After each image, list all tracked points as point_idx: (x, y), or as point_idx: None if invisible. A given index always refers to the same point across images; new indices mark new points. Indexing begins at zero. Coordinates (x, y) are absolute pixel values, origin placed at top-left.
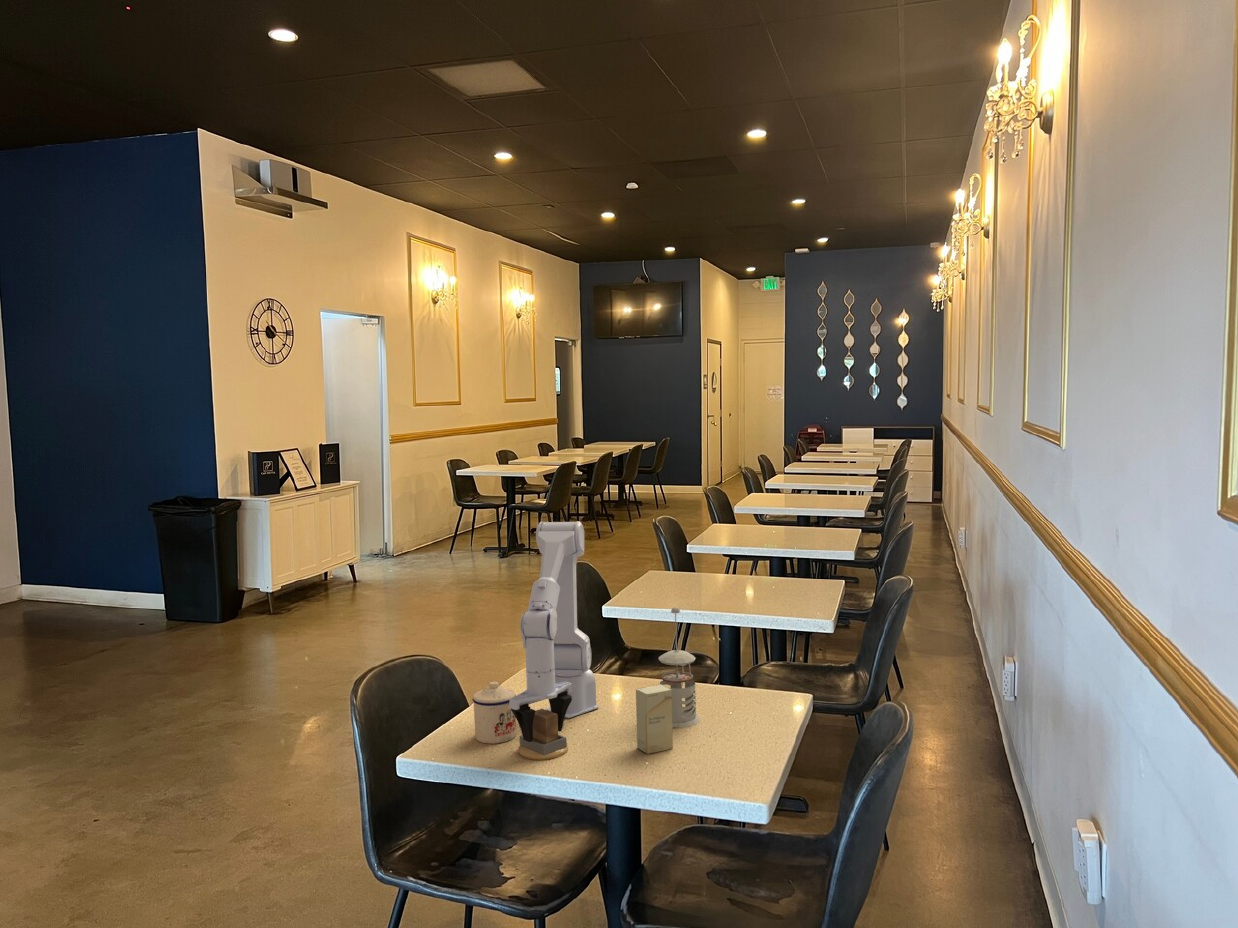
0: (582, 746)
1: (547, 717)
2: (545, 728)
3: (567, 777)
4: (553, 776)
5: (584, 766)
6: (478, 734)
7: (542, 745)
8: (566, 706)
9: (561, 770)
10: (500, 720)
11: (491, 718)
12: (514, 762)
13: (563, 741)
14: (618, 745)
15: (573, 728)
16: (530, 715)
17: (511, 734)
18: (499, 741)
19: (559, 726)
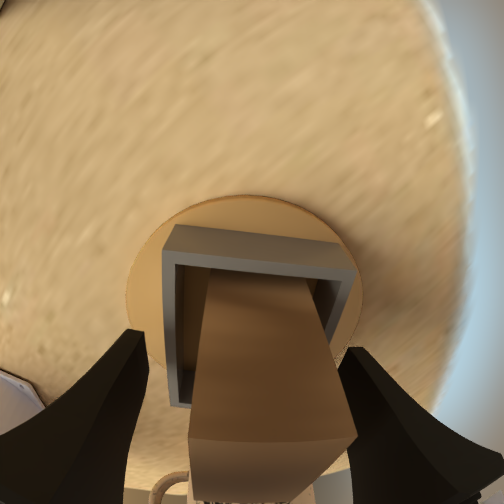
0: (89, 196)
1: (336, 437)
2: (329, 362)
3: (425, 19)
4: (449, 79)
5: (287, 2)
6: None
7: (352, 280)
8: (37, 438)
9: (392, 76)
10: None
11: (307, 494)
12: (401, 306)
13: (191, 243)
14: (3, 84)
15: (37, 341)
16: (469, 459)
17: None
18: None
19: (135, 352)
